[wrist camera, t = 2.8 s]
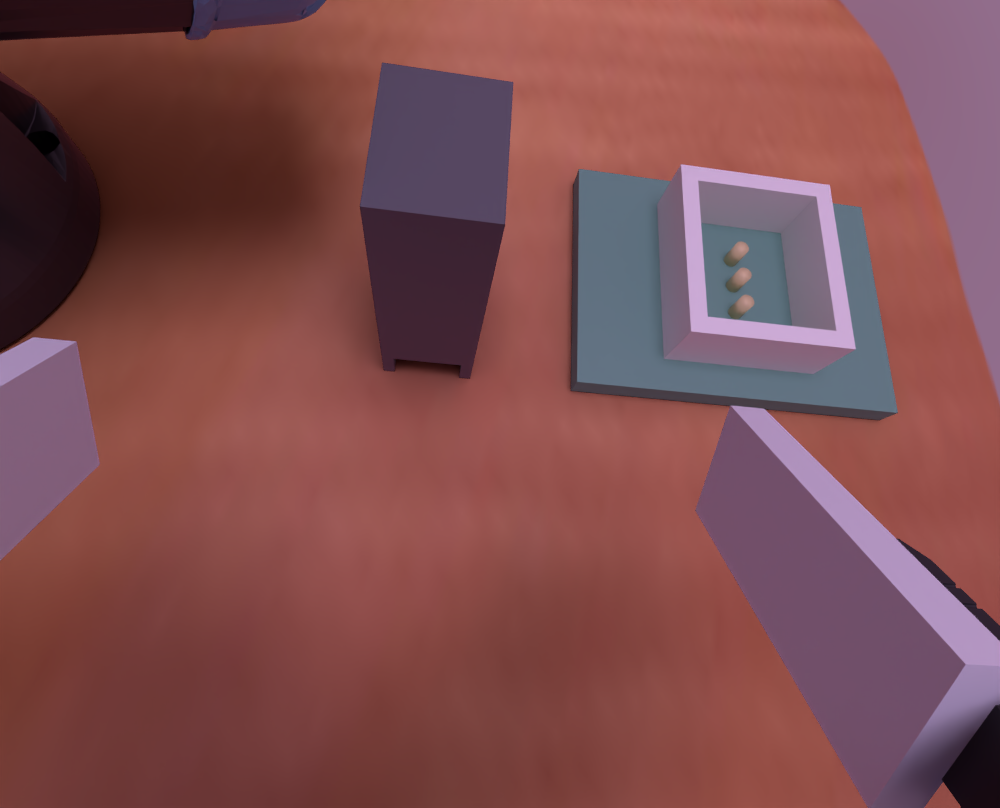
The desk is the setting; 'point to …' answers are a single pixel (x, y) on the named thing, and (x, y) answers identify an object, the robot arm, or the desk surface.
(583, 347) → the board
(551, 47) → the desk surface
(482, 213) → the block
